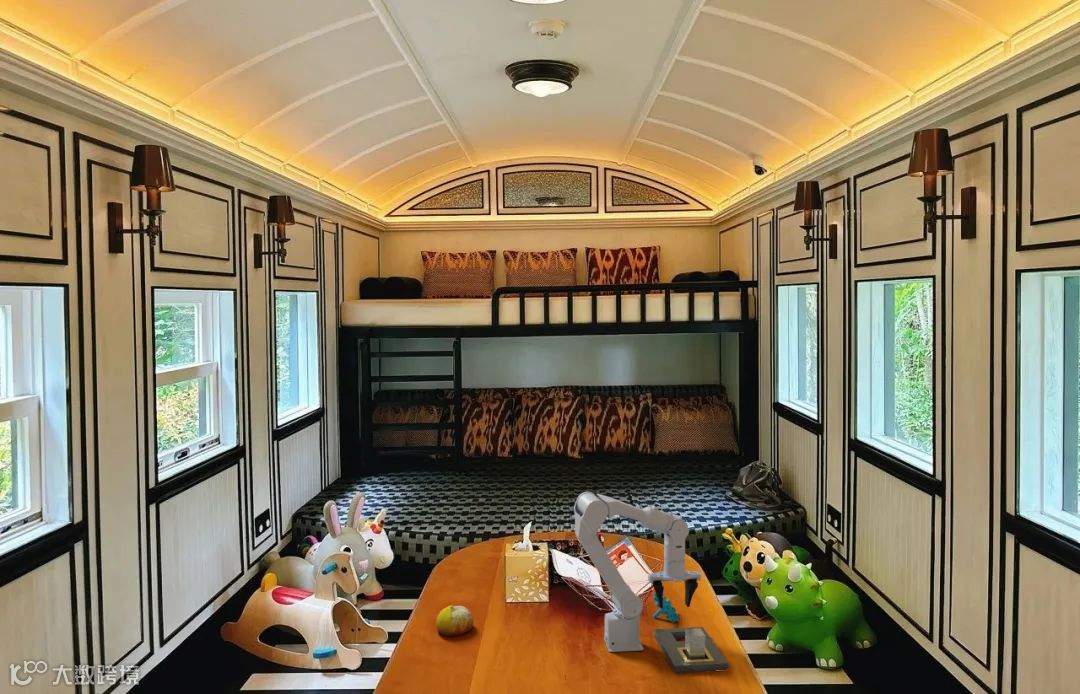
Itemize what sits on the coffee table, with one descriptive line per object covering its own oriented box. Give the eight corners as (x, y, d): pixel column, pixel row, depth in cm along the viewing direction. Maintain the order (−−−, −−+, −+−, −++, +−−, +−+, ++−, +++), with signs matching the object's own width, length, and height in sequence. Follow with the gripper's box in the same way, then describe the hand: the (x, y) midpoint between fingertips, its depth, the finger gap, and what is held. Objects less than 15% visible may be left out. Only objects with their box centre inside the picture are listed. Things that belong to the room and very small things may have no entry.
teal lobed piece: (676, 624, 201) (652, 595, 205) (661, 636, 203) (638, 607, 206) (684, 613, 211) (661, 586, 215) (669, 625, 213) (648, 597, 216)
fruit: (466, 640, 195) (458, 612, 195) (434, 645, 198) (426, 618, 198) (482, 621, 205) (474, 595, 206) (451, 626, 209) (443, 601, 209)
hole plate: (674, 673, 178) (674, 665, 177) (654, 636, 197) (654, 628, 197) (728, 670, 179) (728, 662, 179) (702, 633, 199) (702, 626, 199)
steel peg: (689, 666, 181) (690, 636, 181) (685, 658, 185) (685, 628, 185) (704, 665, 182) (705, 635, 181) (699, 657, 186) (700, 628, 185)
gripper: (652, 564, 190) (652, 613, 191) (704, 562, 191) (703, 611, 192) (646, 555, 197) (645, 602, 198) (696, 553, 198) (695, 600, 199)
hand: (674, 606), depth 195 cm, fingers open, 7 cm apart
